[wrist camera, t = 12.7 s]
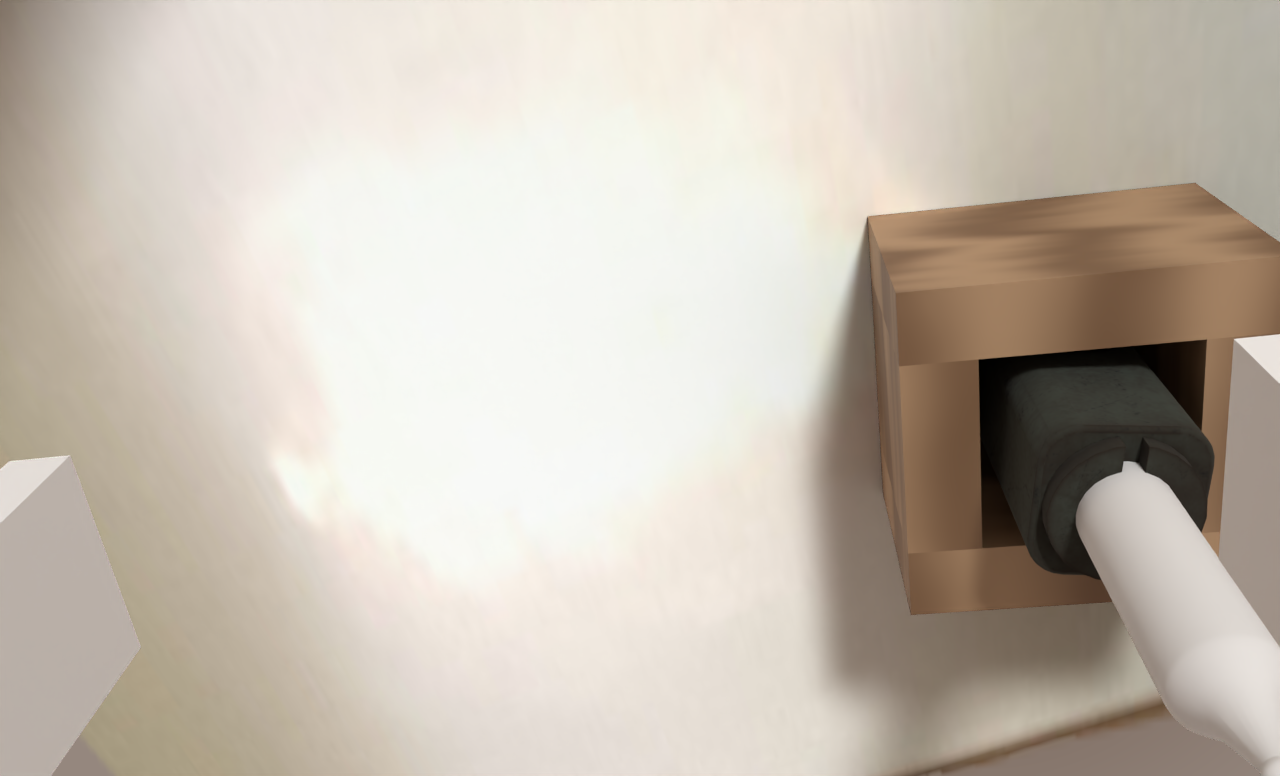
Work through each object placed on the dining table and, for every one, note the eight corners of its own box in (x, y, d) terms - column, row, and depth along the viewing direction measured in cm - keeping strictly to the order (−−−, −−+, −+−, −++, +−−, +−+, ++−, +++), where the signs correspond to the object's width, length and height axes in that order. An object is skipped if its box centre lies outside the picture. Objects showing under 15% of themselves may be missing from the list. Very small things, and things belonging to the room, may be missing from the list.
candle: (1102, 287, 47) (1449, 694, 24) (1084, 408, 49) (1390, 889, 26) (967, 286, 47) (1183, 685, 24) (956, 406, 49) (1145, 878, 26)
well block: (883, 493, 51) (910, 614, 43) (867, 216, 46) (895, 293, 38) (1180, 470, 50) (1268, 591, 41) (1195, 183, 45) (1297, 254, 37)
